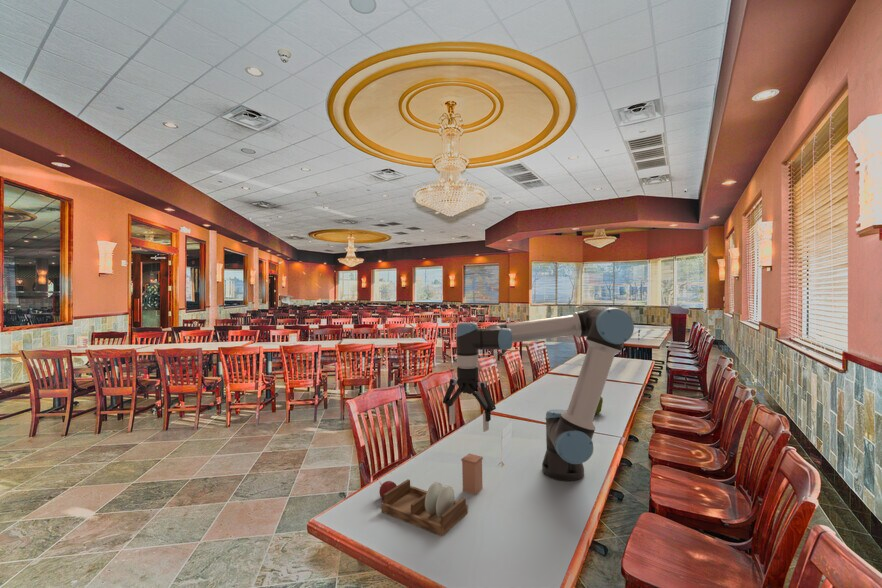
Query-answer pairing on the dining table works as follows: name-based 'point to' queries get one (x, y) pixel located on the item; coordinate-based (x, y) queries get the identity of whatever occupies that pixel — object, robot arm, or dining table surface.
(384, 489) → the fruit
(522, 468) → the dining table surface
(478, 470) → the tall tan box
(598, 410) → the apple
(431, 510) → the plates
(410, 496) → the rack
